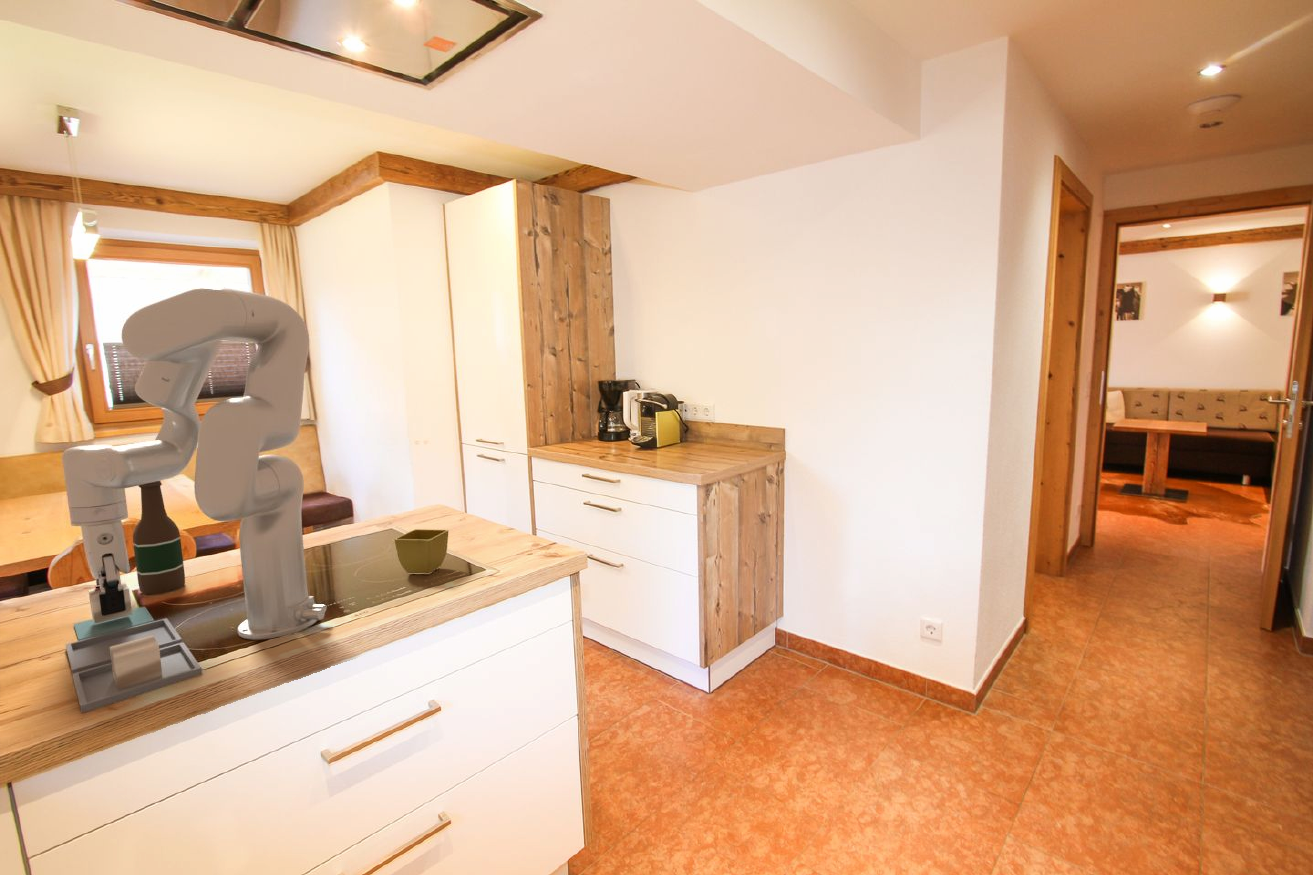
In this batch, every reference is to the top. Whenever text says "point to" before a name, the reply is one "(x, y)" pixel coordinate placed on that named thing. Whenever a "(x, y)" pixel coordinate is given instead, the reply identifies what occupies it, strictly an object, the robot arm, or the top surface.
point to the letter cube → (97, 608)
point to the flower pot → (422, 550)
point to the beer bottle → (157, 545)
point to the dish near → (102, 689)
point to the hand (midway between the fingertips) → (111, 607)
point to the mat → (112, 624)
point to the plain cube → (135, 661)
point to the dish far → (117, 643)
